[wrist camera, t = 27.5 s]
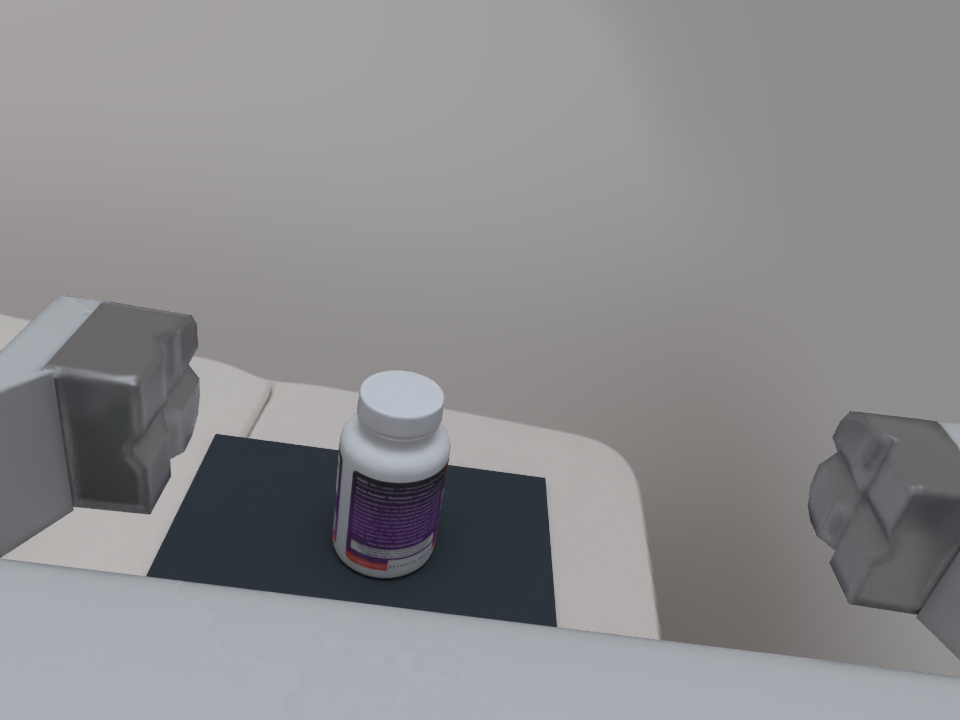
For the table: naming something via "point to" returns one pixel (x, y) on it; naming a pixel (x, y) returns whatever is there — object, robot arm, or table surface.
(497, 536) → the mat
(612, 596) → the table surface
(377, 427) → the pill bottle
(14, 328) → the table surface
